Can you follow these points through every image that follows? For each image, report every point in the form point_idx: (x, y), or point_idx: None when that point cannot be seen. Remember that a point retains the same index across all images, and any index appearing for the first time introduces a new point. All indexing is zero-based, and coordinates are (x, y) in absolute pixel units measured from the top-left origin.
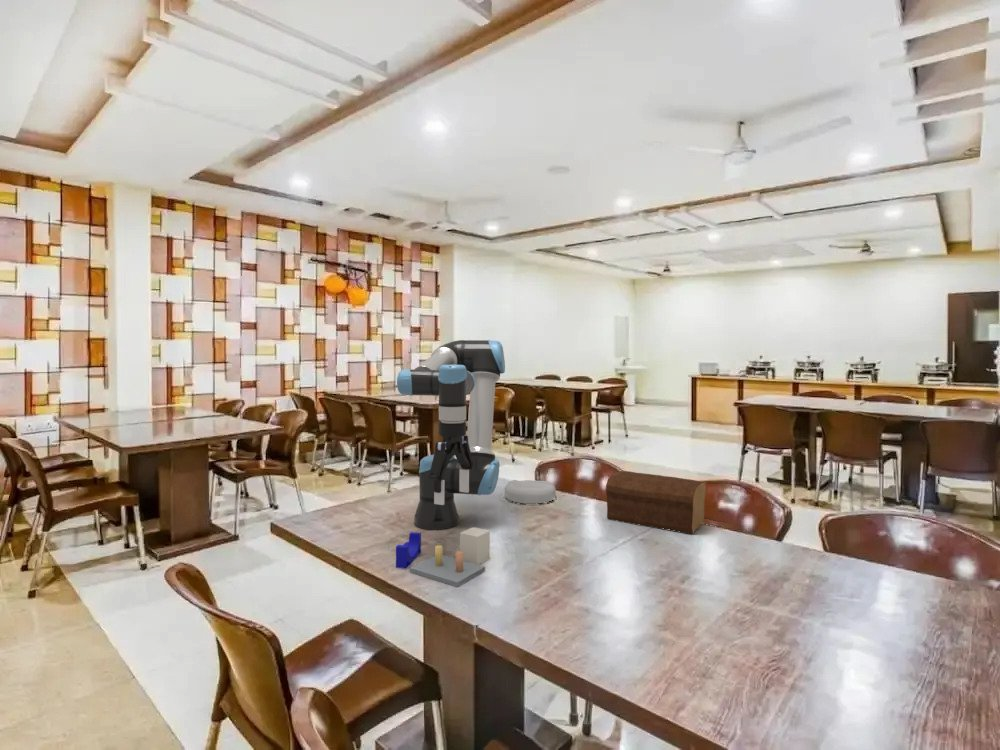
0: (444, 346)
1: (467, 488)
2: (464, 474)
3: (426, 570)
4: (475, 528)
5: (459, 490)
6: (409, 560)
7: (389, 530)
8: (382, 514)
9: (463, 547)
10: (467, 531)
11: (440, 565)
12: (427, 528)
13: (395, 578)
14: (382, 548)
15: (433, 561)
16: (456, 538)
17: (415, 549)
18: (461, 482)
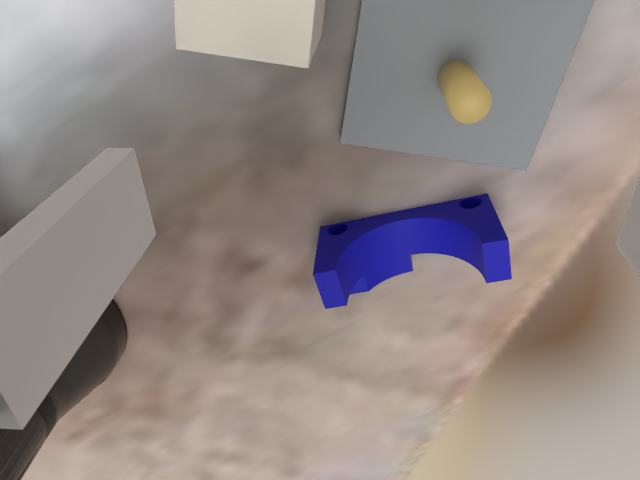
0: None
1: (114, 169)
2: (34, 309)
3: (536, 93)
4: (188, 16)
5: (151, 240)
6: (455, 210)
7: (207, 394)
8: (115, 460)
9: (318, 24)
10: (264, 35)
11: (467, 62)
12: (118, 314)
13: (592, 179)
14: (350, 343)
15: (426, 120)
16: None
17: (367, 238)
18: (106, 272)
